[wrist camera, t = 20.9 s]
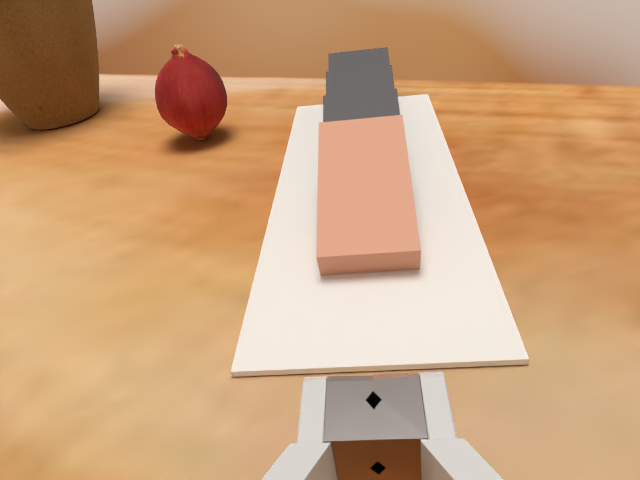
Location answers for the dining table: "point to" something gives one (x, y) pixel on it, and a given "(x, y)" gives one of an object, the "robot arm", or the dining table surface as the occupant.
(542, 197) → the dining table surface
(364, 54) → the domino
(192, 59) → the onion
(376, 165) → the terracotta domino
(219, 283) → the dining table surface
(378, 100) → the domino
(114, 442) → the dining table surface
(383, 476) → the robot arm
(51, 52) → the plant pot
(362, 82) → the domino
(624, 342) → the dining table surface
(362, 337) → the mat
